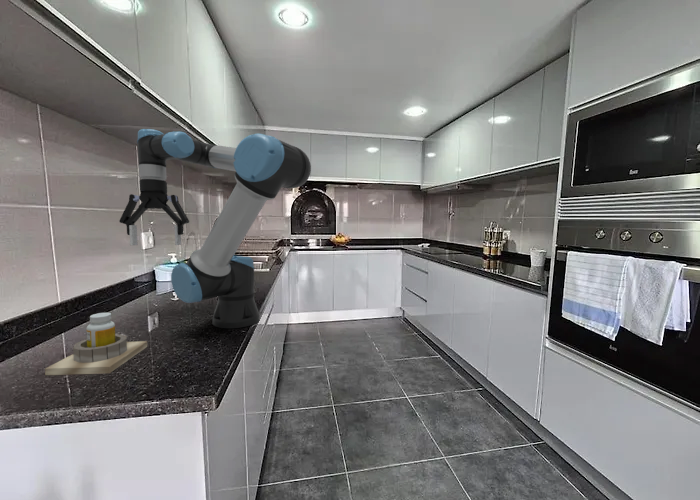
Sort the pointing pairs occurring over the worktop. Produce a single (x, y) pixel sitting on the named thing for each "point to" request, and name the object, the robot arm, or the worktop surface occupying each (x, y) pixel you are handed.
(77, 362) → the jig plate
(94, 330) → the supplement bottle
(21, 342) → the worktop surface
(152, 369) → the worktop surface
